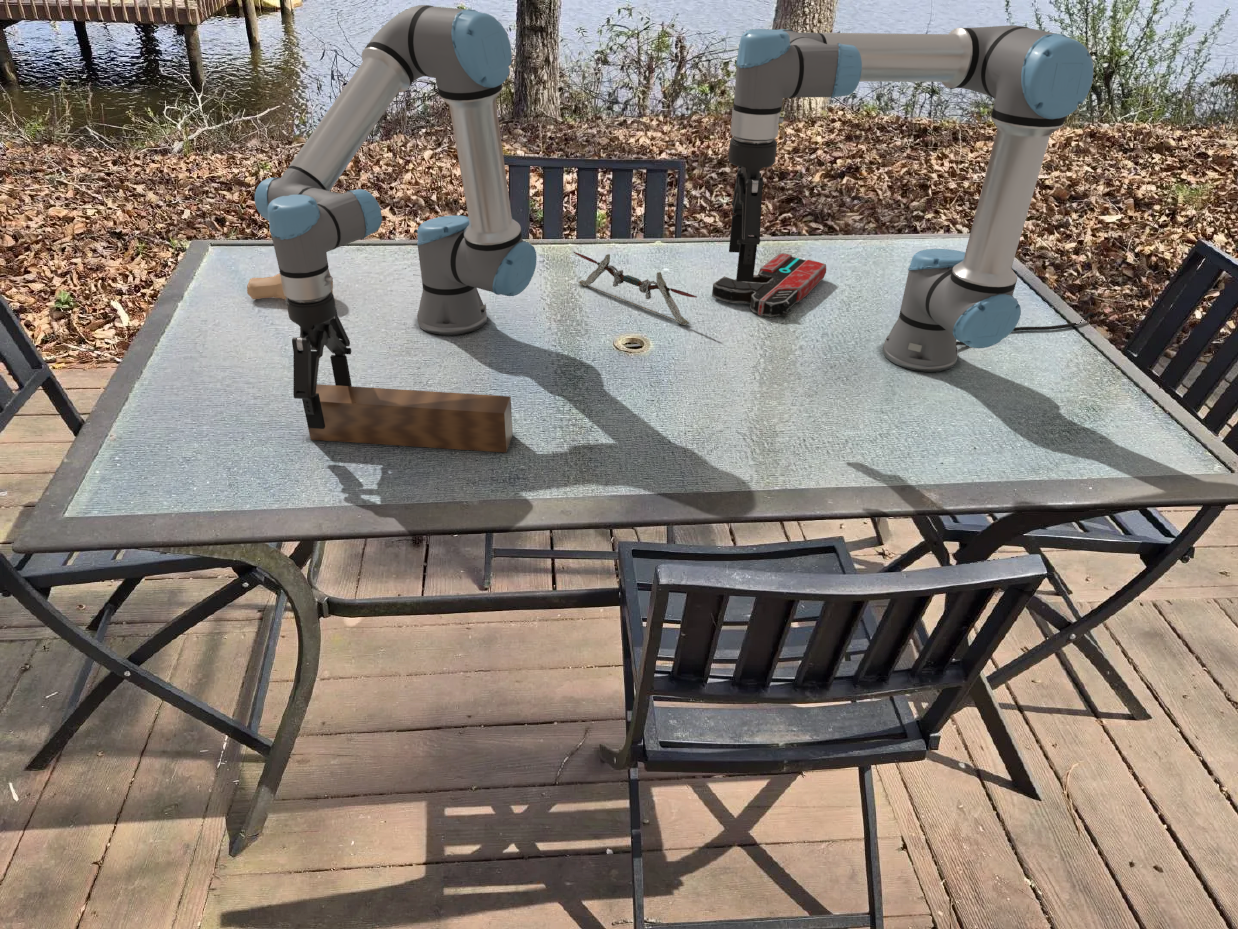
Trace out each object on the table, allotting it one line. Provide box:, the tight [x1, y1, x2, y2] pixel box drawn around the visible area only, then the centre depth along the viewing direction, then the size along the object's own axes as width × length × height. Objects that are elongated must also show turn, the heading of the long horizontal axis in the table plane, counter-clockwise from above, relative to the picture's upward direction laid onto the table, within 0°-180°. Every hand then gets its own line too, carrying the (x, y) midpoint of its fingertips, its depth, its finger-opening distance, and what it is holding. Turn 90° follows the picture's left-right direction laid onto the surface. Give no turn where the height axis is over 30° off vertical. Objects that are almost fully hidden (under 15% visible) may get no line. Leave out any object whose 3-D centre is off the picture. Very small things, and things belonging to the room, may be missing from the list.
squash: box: [246, 271, 334, 301], centre depth 203 cm, size 11×20×9 cm, turn 90°
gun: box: [711, 252, 827, 318], centre depth 215 cm, size 4×31×19 cm
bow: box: [573, 251, 698, 326], centre depth 205 cm, size 39×2×10 cm, turn 47°
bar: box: [307, 383, 514, 454], centre depth 154 cm, size 35×6×8 cm, turn 85°
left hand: (331, 407), depth 154 cm, fingers open, 13 cm apart
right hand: (740, 265), depth 151 cm, fingers open, 13 cm apart
